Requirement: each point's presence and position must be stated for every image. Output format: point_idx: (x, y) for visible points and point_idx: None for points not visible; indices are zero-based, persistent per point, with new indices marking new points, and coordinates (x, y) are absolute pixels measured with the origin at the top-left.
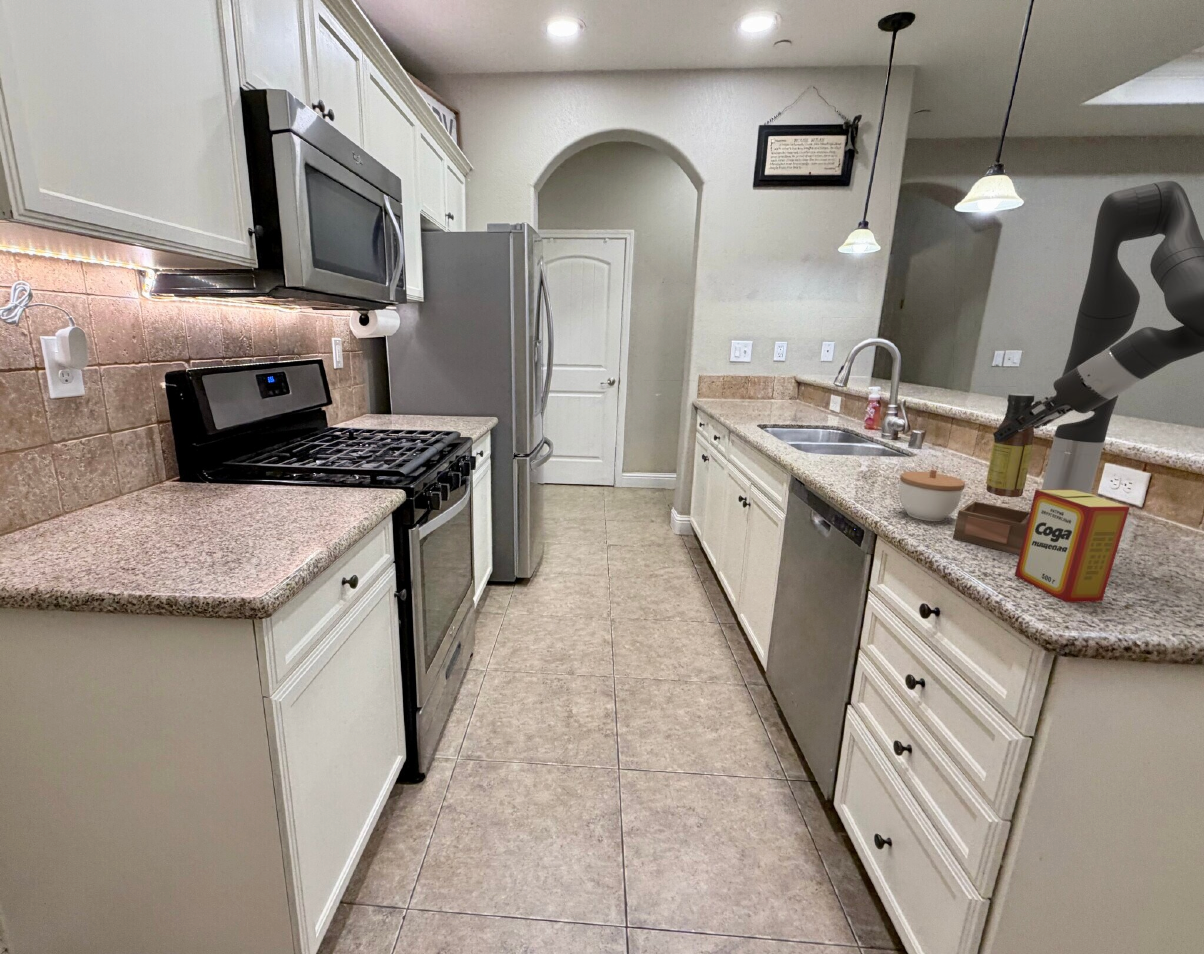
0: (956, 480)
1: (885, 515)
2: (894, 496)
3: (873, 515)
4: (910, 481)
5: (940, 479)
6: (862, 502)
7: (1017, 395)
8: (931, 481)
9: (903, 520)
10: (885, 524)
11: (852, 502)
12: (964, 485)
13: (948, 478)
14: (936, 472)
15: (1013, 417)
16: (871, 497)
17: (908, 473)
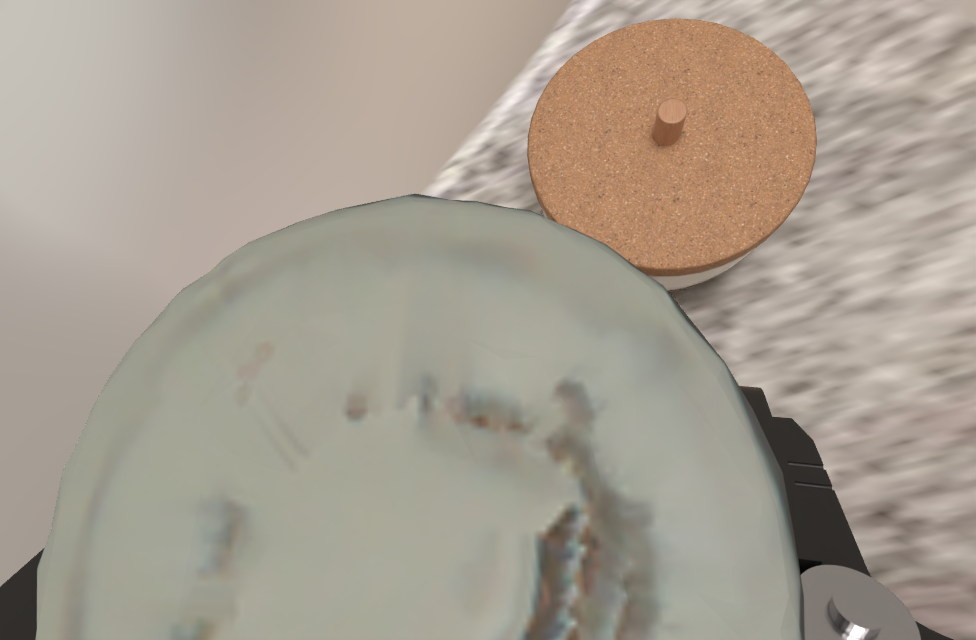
0: (720, 219)
1: (526, 143)
2: (814, 32)
3: (490, 125)
4: (536, 110)
5: (658, 172)
6: (607, 27)
7: (53, 519)
8: (573, 169)
9: (524, 200)
10: (430, 191)
11: (574, 13)
12: (699, 268)
13: (723, 181)
14: (675, 129)
15: (29, 567)
16: (706, 4)
17: (644, 42)
